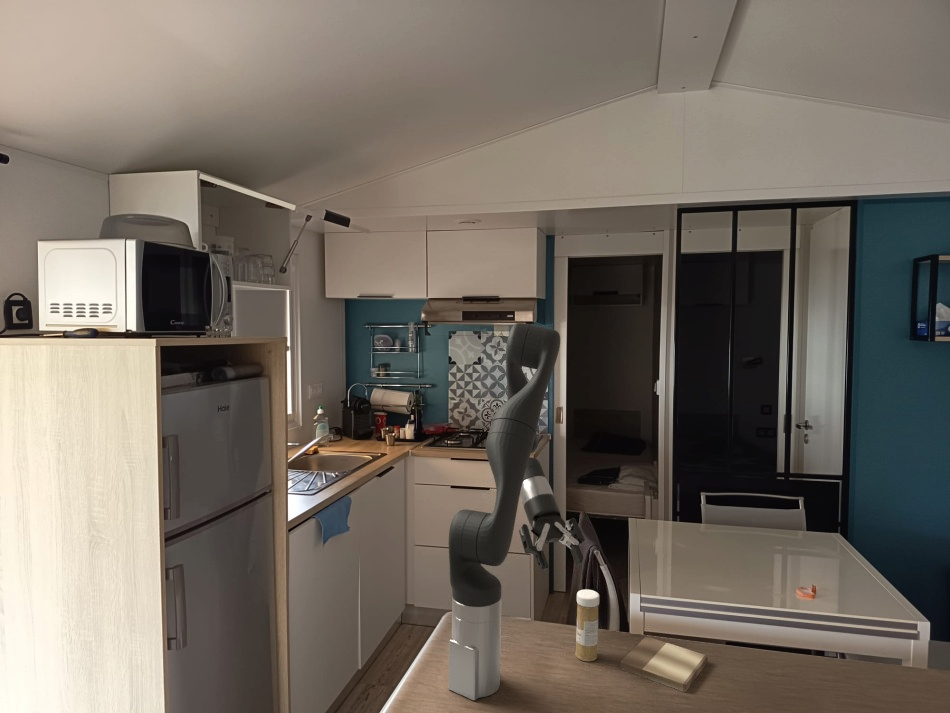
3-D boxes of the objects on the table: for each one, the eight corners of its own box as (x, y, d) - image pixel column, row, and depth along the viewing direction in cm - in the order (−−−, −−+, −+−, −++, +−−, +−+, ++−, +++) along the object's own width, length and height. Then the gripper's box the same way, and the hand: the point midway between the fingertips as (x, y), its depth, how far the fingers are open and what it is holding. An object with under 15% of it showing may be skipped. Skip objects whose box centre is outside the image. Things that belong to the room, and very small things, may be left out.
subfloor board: (685, 692, 123) (685, 684, 123) (620, 669, 131) (620, 661, 131) (707, 663, 133) (707, 655, 133) (646, 642, 141) (646, 635, 141)
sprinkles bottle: (572, 651, 137) (574, 588, 136) (594, 650, 138) (595, 588, 137) (578, 663, 133) (580, 598, 132) (600, 662, 133) (602, 597, 132)
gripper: (516, 495, 147) (540, 564, 138) (571, 489, 153) (597, 554, 143) (505, 511, 152) (528, 578, 143) (558, 505, 158) (583, 569, 148)
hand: (562, 566), depth 143 cm, fingers open, 8 cm apart
